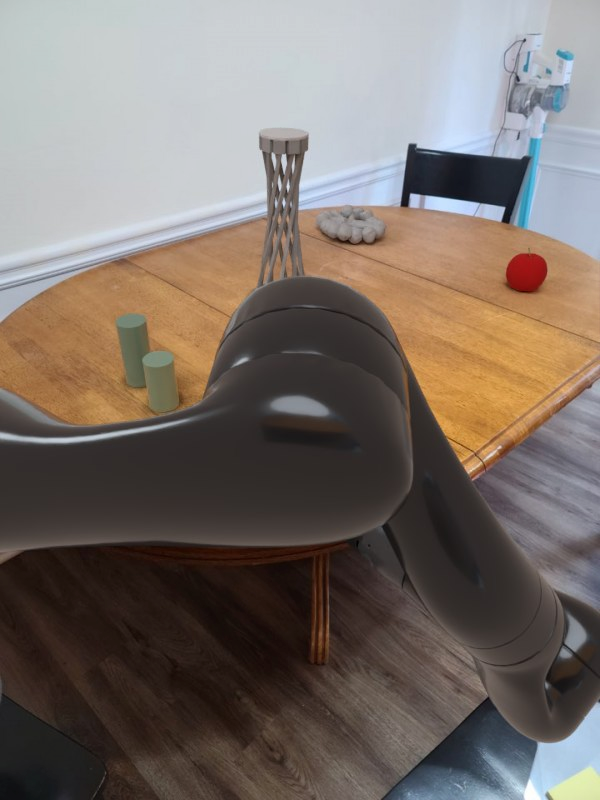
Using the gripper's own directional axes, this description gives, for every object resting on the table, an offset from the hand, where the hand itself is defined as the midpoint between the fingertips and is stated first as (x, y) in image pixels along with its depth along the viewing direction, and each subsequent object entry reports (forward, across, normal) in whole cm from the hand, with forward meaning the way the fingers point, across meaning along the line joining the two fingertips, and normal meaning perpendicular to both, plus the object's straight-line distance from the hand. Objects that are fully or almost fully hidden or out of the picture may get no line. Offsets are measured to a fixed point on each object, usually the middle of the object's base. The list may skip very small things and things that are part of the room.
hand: (285, 439), depth 62 cm
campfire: (+79, -85, +18) cm, 117 cm away
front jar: (+36, -2, +17) cm, 40 cm away
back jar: (+45, -2, +17) cm, 48 cm away
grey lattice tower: (+57, -43, +17) cm, 73 cm away
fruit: (+27, -94, +18) cm, 99 cm away
